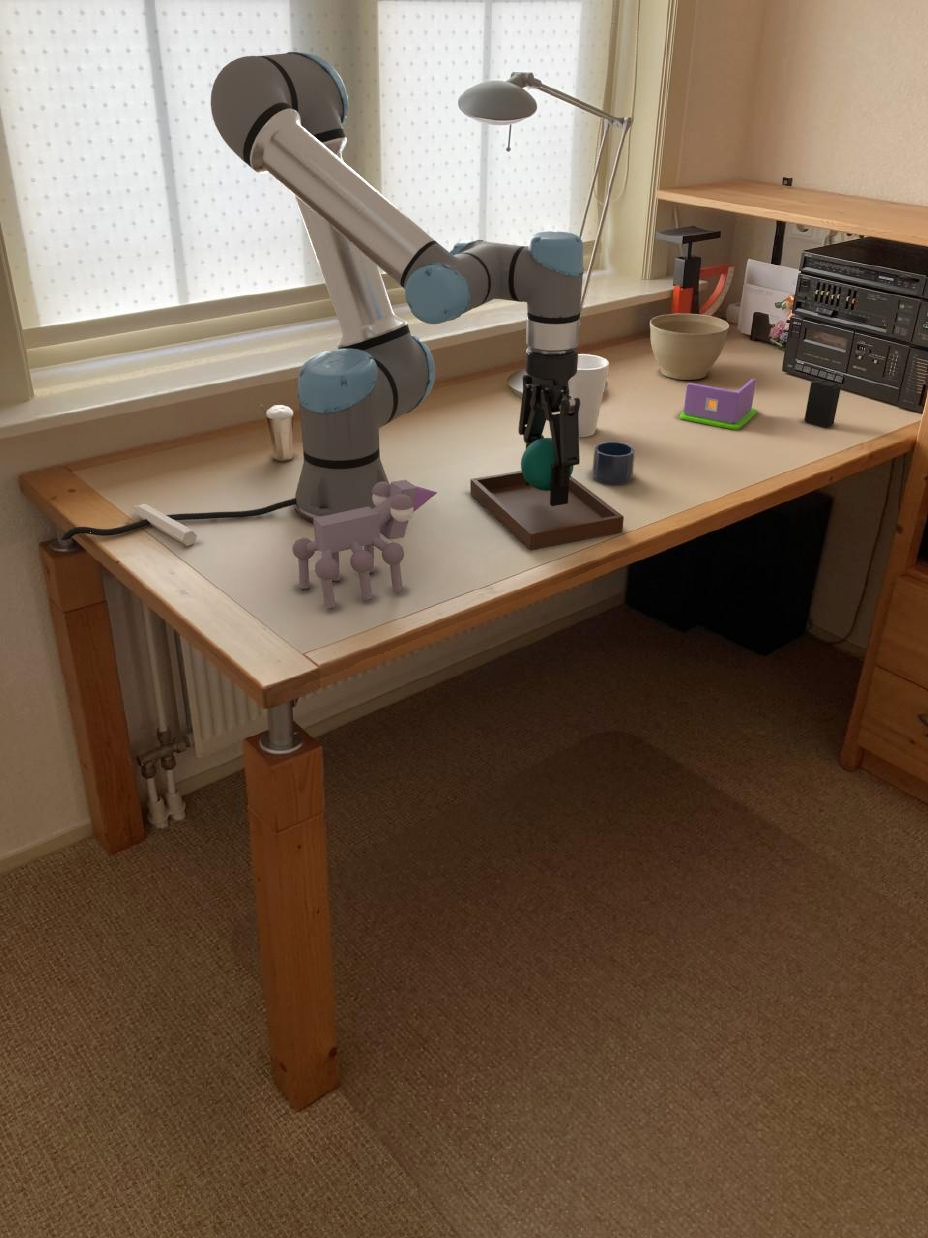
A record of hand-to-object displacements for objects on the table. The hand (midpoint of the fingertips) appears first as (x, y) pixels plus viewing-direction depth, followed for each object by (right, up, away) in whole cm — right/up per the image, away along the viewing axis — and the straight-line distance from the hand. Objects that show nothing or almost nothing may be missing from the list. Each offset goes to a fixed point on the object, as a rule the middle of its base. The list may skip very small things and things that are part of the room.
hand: (545, 493), depth 164 cm
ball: (0, +4, -2) cm, 5 cm away
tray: (0, -3, +2) cm, 3 cm away
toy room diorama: (+36, +20, +40) cm, 57 cm away
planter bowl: (+34, +32, +62) cm, 77 cm away
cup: (+12, +4, +14) cm, 19 cm away
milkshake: (-44, +8, +20) cm, 49 cm away
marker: (-58, -6, -4) cm, 59 cm away
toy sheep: (-25, -15, -18) cm, 34 cm away
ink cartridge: (+54, +17, +36) cm, 68 cm away
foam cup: (+8, +15, +32) cm, 37 cm away
